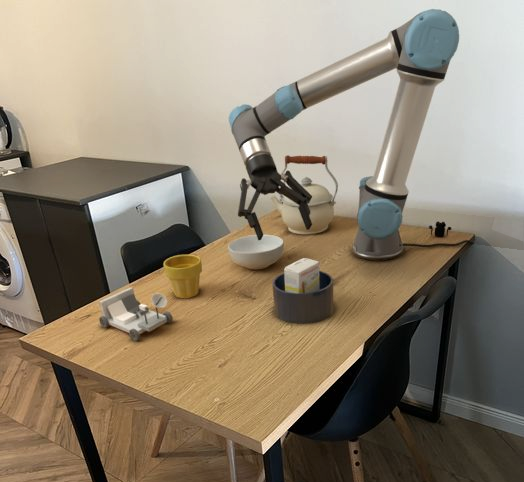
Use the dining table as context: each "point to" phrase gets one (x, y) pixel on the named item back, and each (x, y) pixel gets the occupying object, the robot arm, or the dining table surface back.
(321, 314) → the dark blue round tub
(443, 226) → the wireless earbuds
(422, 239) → the dining table surface
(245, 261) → the cereal bowl
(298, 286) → the ink box
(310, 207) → the kettle
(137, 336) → the toy car
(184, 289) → the flower pot
